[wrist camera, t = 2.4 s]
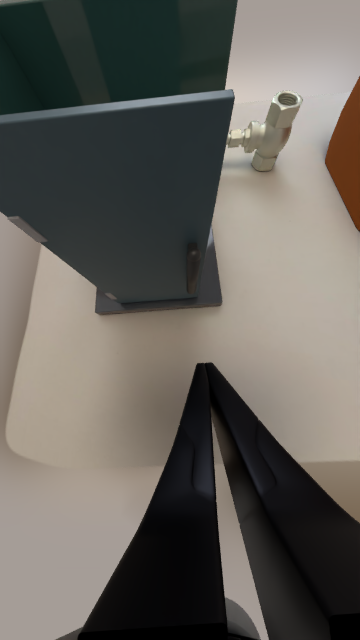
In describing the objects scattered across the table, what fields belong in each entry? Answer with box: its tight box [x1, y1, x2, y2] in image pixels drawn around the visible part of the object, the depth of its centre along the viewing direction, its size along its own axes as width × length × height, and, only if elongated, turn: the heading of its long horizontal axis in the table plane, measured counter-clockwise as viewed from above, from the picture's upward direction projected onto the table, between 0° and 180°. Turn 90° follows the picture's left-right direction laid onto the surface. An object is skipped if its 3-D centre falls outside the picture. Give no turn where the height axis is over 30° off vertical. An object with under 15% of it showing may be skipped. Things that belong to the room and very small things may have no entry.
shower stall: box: [0, 0, 238, 315], centre depth 15 cm, size 16×16×15 cm
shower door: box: [0, 89, 235, 303], centre depth 12 cm, size 2×10×15 cm, turn 94°
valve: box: [226, 91, 303, 171], centre depth 22 cm, size 7×7×12 cm
